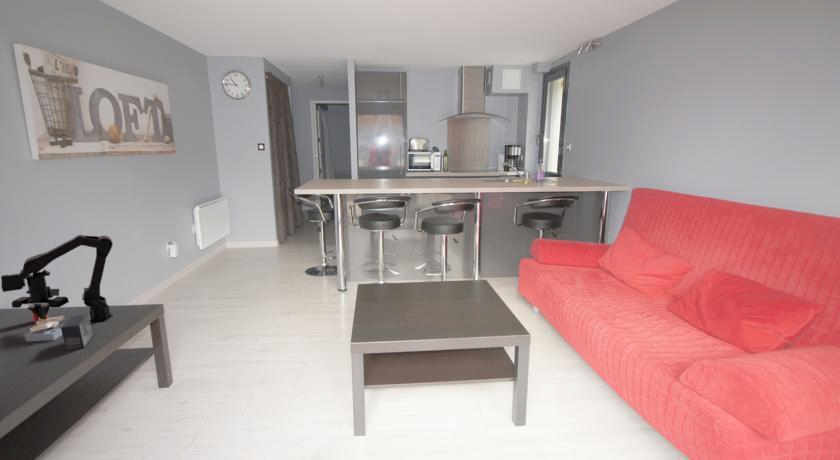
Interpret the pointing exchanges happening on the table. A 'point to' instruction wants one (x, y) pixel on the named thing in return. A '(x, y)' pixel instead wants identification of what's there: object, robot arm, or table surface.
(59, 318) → the rocker
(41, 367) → the table surface
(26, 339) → the switch unit
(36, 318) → the soda can
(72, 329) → the small box
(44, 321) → the rocker
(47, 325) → the rocker
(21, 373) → the table surface
